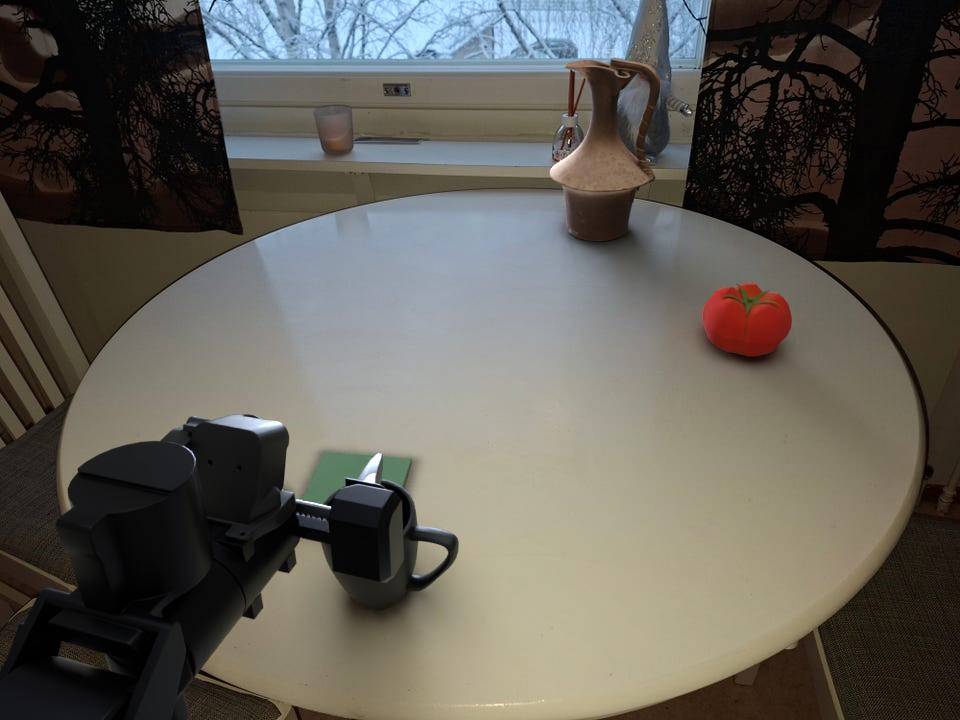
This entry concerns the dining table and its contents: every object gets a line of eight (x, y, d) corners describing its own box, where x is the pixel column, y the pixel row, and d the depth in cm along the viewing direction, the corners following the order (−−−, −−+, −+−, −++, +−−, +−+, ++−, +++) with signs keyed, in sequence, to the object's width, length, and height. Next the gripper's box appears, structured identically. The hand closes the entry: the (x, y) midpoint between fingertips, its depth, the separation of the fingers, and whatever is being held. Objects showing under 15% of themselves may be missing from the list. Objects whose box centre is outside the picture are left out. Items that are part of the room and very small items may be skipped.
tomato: (795, 339, 91) (810, 290, 86) (760, 377, 84) (774, 327, 80) (721, 311, 97) (731, 265, 92) (683, 346, 90) (691, 298, 86)
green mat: (388, 533, 67) (388, 530, 66) (292, 523, 68) (291, 520, 68) (411, 460, 75) (411, 458, 74) (325, 453, 76) (324, 450, 76)
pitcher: (656, 215, 123) (679, 49, 106) (637, 258, 110) (659, 77, 94) (563, 203, 128) (570, 43, 112) (534, 242, 116) (537, 68, 99)
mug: (443, 648, 57) (435, 578, 51) (317, 608, 60) (297, 539, 55) (475, 569, 63) (471, 499, 57) (360, 537, 66) (345, 469, 61)
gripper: (338, 507, 34) (438, 374, 48) (39, 445, 39) (209, 339, 52) (351, 663, 39) (439, 501, 53) (84, 592, 43) (229, 460, 57)
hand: (326, 448), depth 54 cm, fingers open, 9 cm apart
